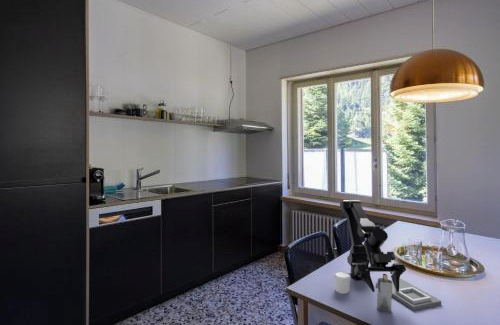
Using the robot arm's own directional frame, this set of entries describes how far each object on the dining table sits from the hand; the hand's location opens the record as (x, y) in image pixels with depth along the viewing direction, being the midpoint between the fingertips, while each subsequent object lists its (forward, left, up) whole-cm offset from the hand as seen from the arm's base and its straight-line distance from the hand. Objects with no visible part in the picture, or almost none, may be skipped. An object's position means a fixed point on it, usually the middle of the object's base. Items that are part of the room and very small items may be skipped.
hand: (386, 291), depth 108 cm
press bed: (-7, +17, -7) cm, 20 cm away
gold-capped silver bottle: (-1, 0, -7) cm, 8 cm away
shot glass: (-18, -7, -8) cm, 21 cm away
